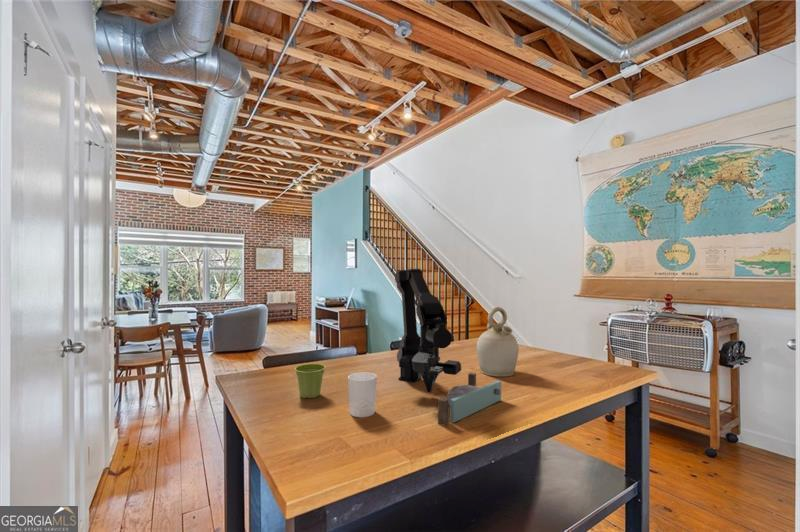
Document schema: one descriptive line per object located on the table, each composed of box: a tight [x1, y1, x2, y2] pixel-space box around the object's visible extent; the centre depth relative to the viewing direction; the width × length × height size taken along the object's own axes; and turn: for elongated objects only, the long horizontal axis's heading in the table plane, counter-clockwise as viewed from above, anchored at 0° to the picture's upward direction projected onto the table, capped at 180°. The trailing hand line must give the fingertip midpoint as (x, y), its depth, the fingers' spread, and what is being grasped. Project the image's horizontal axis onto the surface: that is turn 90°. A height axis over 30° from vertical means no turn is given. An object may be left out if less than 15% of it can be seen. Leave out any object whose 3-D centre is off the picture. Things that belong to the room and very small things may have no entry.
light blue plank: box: [437, 372, 477, 426], centre depth 104 cm, size 2×28×6 cm, turn 153°
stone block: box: [446, 384, 481, 407], centre depth 108 cm, size 12×5×10 cm
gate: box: [449, 380, 502, 423], centre depth 101 cm, size 2×23×6 cm, turn 135°
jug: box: [476, 306, 520, 378], centre depth 139 cm, size 15×16×25 cm
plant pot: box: [294, 363, 327, 399], centre depth 113 cm, size 9×9×9 cm
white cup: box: [347, 371, 378, 418], centre depth 99 cm, size 8×8×10 cm
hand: (429, 392), depth 112 cm, fingers closed
